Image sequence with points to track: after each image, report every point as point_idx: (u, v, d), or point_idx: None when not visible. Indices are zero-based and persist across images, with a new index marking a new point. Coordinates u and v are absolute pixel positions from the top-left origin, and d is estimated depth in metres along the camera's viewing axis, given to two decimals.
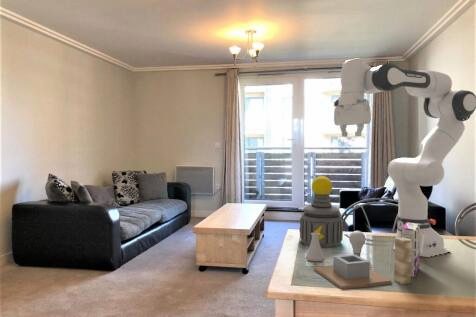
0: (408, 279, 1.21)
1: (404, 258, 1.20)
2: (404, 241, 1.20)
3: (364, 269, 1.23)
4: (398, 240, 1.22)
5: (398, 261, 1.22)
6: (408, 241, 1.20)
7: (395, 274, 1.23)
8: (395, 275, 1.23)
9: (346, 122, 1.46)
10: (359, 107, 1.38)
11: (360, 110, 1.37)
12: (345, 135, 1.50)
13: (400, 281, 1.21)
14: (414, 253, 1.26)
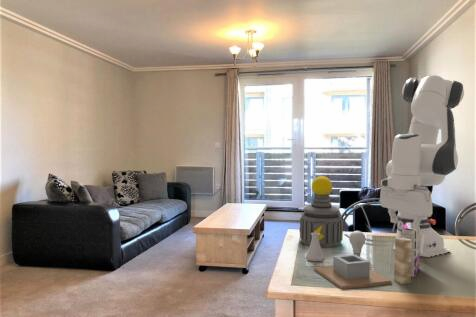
0: (408, 279, 1.21)
1: (404, 258, 1.20)
2: (404, 241, 1.20)
3: (364, 269, 1.23)
4: (398, 240, 1.22)
5: (398, 261, 1.22)
6: (408, 241, 1.20)
7: (395, 274, 1.23)
8: (395, 275, 1.23)
9: (397, 208, 1.22)
10: (417, 196, 1.13)
11: (418, 201, 1.13)
12: (395, 221, 1.25)
13: (400, 281, 1.21)
14: (414, 253, 1.26)
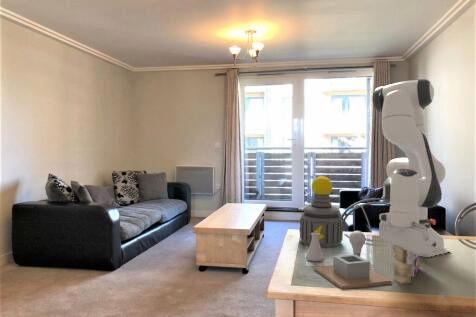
0: (408, 279, 1.21)
1: None
2: None
3: (364, 269, 1.23)
4: None
5: (398, 261, 1.22)
6: None
7: (395, 274, 1.23)
8: (395, 275, 1.23)
9: (396, 244, 1.22)
10: (416, 234, 1.14)
11: (417, 239, 1.13)
12: None
13: (400, 281, 1.21)
14: None
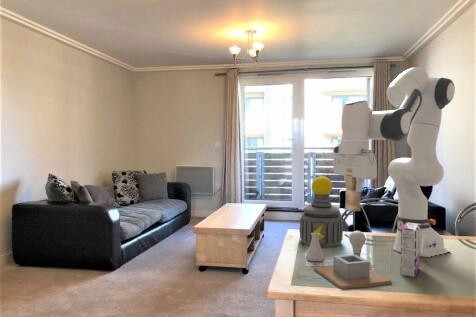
0: (358, 207, 1.24)
1: (353, 186, 1.23)
2: None
3: (364, 269, 1.23)
4: (348, 169, 1.24)
5: (348, 190, 1.24)
6: None
7: (346, 203, 1.26)
8: (346, 204, 1.26)
9: None
10: (363, 159, 1.17)
11: (364, 164, 1.16)
12: None
13: (350, 209, 1.23)
14: (414, 253, 1.26)
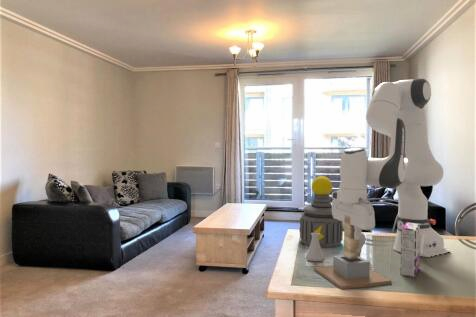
0: (356, 254, 1.24)
1: (352, 234, 1.24)
2: None
3: (364, 269, 1.23)
4: (347, 216, 1.25)
5: (347, 237, 1.25)
6: None
7: (344, 250, 1.26)
8: (344, 251, 1.26)
9: None
10: (361, 209, 1.17)
11: (362, 214, 1.17)
12: None
13: (348, 256, 1.24)
14: (414, 253, 1.26)
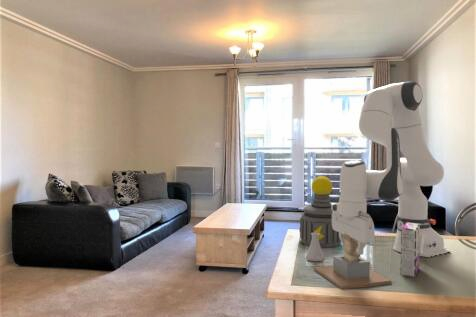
0: None
1: (351, 251, 1.24)
2: None
3: (364, 269, 1.23)
4: None
5: (346, 254, 1.25)
6: None
7: None
8: None
9: (345, 233, 1.26)
10: (361, 223, 1.18)
11: (361, 228, 1.17)
12: None
13: None
14: (414, 253, 1.26)
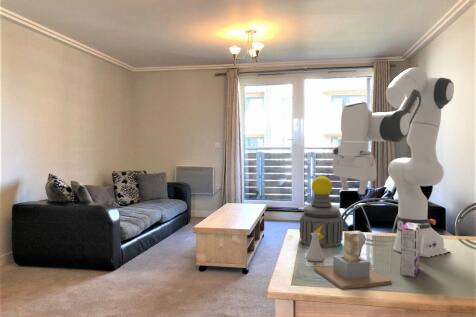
0: None
1: (351, 251, 1.24)
2: (352, 234, 1.24)
3: (364, 269, 1.23)
4: (346, 233, 1.25)
5: (346, 254, 1.25)
6: (356, 234, 1.24)
7: None
8: None
9: (346, 175, 1.25)
10: (362, 161, 1.17)
11: (363, 165, 1.16)
12: (346, 189, 1.29)
13: None
14: (414, 253, 1.26)
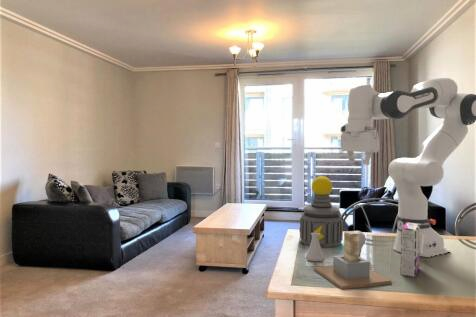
0: None
1: (351, 251, 1.24)
2: (352, 234, 1.24)
3: (364, 269, 1.23)
4: (346, 233, 1.25)
5: (346, 254, 1.25)
6: (356, 234, 1.24)
7: None
8: None
9: (353, 149, 1.42)
10: (367, 135, 1.34)
11: (368, 139, 1.34)
12: (352, 162, 1.46)
13: None
14: (414, 253, 1.26)
